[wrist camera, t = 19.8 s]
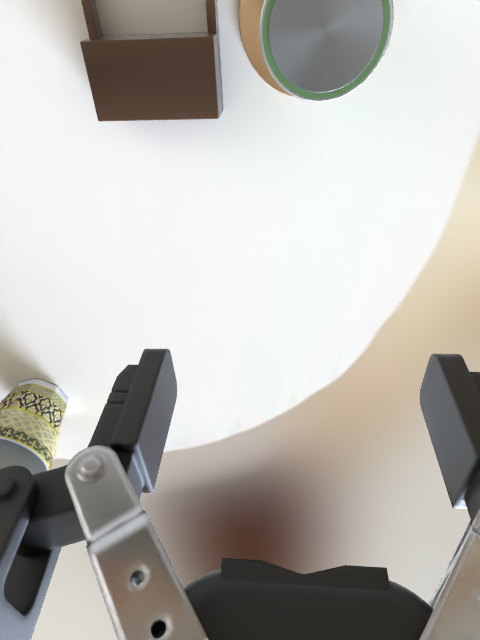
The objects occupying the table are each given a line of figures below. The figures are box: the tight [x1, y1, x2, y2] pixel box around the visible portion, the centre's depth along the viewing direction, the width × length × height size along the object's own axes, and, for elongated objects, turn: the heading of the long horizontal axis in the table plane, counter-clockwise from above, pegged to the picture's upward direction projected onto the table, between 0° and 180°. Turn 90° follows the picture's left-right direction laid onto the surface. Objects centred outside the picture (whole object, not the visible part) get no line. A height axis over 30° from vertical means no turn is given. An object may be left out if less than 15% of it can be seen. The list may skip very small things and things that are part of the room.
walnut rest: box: [80, 0, 223, 121], centre depth 29 cm, size 10×9×3 cm
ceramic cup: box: [0, 379, 68, 475], centre depth 53 cm, size 13×10×10 cm
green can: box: [259, 0, 393, 102], centre depth 24 cm, size 12×6×13 cm
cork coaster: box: [239, 0, 295, 97], centre depth 29 cm, size 10×10×1 cm
